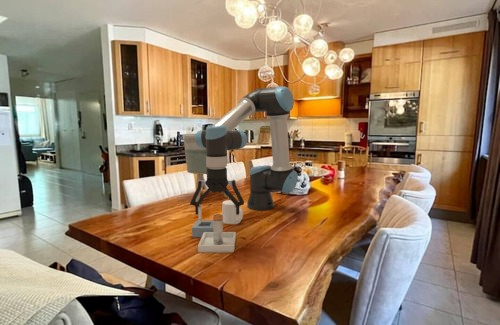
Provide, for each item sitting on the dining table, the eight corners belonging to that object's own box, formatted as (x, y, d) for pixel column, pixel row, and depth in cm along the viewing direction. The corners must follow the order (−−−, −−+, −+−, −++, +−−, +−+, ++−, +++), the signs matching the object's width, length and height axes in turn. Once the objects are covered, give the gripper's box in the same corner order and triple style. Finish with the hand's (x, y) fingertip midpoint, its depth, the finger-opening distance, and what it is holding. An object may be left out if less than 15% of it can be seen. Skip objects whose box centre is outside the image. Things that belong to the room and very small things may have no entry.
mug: (217, 202, 131) (230, 198, 137) (218, 221, 133) (230, 217, 138) (235, 207, 123) (247, 203, 129) (235, 227, 125) (247, 222, 130)
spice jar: (223, 241, 108) (223, 214, 106) (222, 245, 104) (222, 217, 103) (214, 241, 108) (213, 214, 106) (212, 245, 104) (212, 217, 103)
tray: (235, 237, 113) (235, 232, 112) (233, 252, 100) (233, 245, 99) (204, 237, 113) (204, 232, 112) (198, 252, 100) (197, 245, 100)
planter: (236, 196, 177) (236, 133, 172) (209, 207, 155) (207, 135, 150) (205, 191, 191) (204, 133, 186) (176, 200, 169) (173, 134, 164)
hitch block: (216, 229, 122) (216, 220, 122) (214, 237, 113) (213, 228, 113) (196, 229, 122) (196, 220, 122) (192, 237, 113) (191, 228, 113)
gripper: (250, 165, 106) (250, 219, 109) (185, 166, 106) (187, 219, 109) (250, 169, 98) (250, 226, 101) (180, 169, 99) (182, 226, 101)
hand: (217, 222), depth 105 cm, fingers open, 13 cm apart
